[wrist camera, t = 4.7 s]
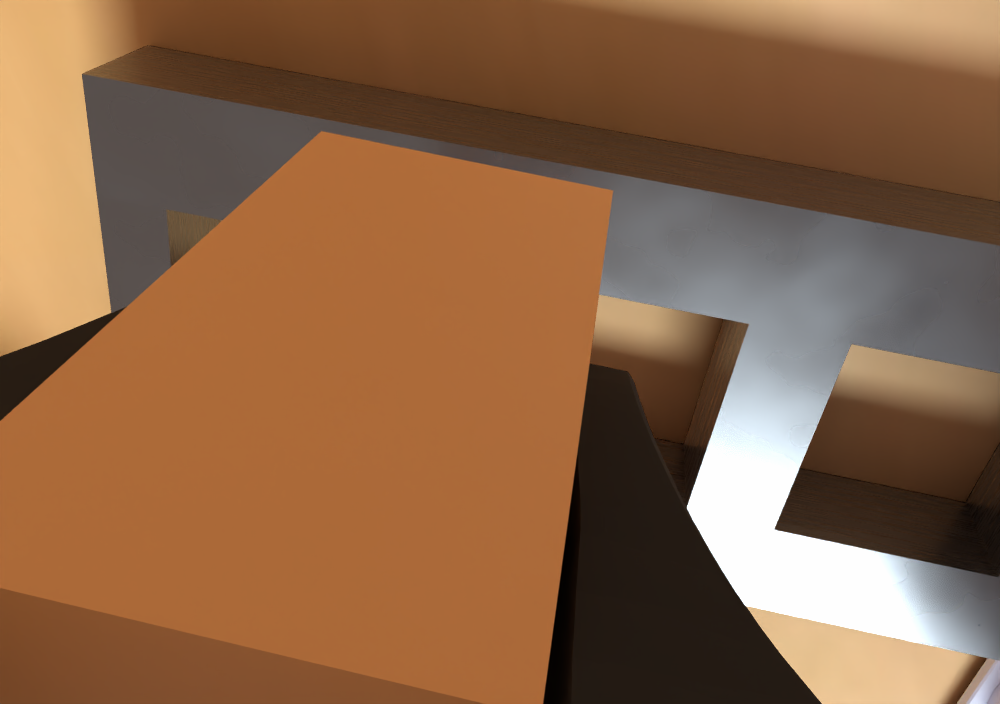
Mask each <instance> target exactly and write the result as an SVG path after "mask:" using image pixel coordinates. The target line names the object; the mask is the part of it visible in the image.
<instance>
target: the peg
mask: <svg viewBox="0 0 1000 704" xmlns="http://www.w3.org/2000/svg"><path fill="white" fill-rule="evenodd" d="M612 195H613V190H608V189H603V188H599V187H594V186H589V185H584V184H579V183H574V182H569V181H564V180H559V179H554V178H549V177H545V176H540V175H535V174H530V173H525V172H520V171H515V170H510V169H505V168H500V167H495V166H490V165H486V164H481V163H476V162H471V161H466V160H461V159H456V158H451V157H446V156H441V155H436V154H431V153H427V152H422V151H417V150H412V149H407V148H402V147H397V146H392V145H387V144H382V143H377V142H372V141H368V140H363V139H358V138H353V137H348V136H343V135H338V134H333V133H328V132H323V131H321V132H320V133H319V134H318V135H316V136H315V137H314V138H313V139H312V140H311V141H310V142H309V143H308V144H306V145H305V146H304V147H303V148H302V149H301V150H300V151H299V152H298V153H297V154H295V155H294V156H293V157H292V158H291V159H290V160H289V161H288V162H287V163H285V164H284V165H283V166H282V167H281V168H280V169H279V170H278V171H277V172H275V173H274V174H273V175H272V176H271V177H270V178H269V179H268V180H267V181H266V182H264V183H263V184H262V185H261V186H260V187H259V188H258V189H257V190H256V191H254V192H253V193H252V194H251V195H250V196H249V197H248V198H247V199H246V200H244V201H243V202H242V203H241V204H240V205H239V206H238V207H237V208H236V209H235V210H233V211H232V212H231V213H230V214H229V215H228V216H227V217H226V218H225V219H223V220H222V221H221V222H220V223H219V224H218V225H217V226H216V227H215V228H214V229H212V230H211V231H210V232H209V233H208V234H207V235H206V236H205V237H204V238H202V239H201V240H200V241H199V242H198V243H197V244H196V245H195V246H194V247H192V248H191V249H190V250H189V251H188V252H187V253H186V254H185V255H184V256H183V257H181V258H180V259H179V260H178V261H177V262H176V263H175V264H174V265H173V266H171V267H170V268H169V269H168V270H167V271H166V272H165V273H164V274H163V275H161V276H160V277H159V278H158V279H157V280H156V281H155V282H154V283H153V284H152V285H150V286H149V287H148V288H147V289H146V290H145V291H144V292H143V293H142V294H140V295H139V296H138V297H137V298H136V299H135V300H134V301H133V302H132V303H130V304H129V305H128V306H127V307H126V308H125V309H124V310H123V311H122V312H121V313H119V314H118V315H117V316H116V317H115V318H114V319H113V320H112V321H111V322H109V323H108V324H107V325H106V326H105V327H104V328H103V329H102V330H101V331H99V332H98V333H97V334H96V335H95V336H94V337H93V338H92V339H91V340H90V341H88V342H87V343H86V344H85V345H84V346H83V347H82V348H81V349H80V350H78V351H77V352H76V353H75V354H74V355H73V356H72V357H71V358H70V359H68V360H67V361H66V362H65V363H64V364H63V365H62V366H61V367H60V368H59V369H57V370H56V371H55V372H54V373H53V374H52V375H51V376H50V377H49V378H47V379H46V380H45V381H44V382H43V383H42V384H41V385H40V386H39V387H38V388H36V389H35V390H34V391H33V392H32V393H31V394H30V395H29V396H28V397H26V398H25V399H24V400H23V401H22V402H21V403H20V404H19V405H18V406H16V407H15V408H14V409H13V410H12V411H11V412H10V413H9V414H8V415H7V416H5V417H4V418H3V419H2V420H1V421H0V704H543V700H544V693H545V685H546V678H547V671H548V663H549V656H550V649H551V641H552V634H553V627H554V619H555V612H556V605H557V597H558V590H559V583H560V576H561V568H562V561H563V554H564V546H565V539H566V532H567V524H568V517H569V510H570V502H571V495H572V488H573V480H574V473H575V466H576V459H577V451H578V444H579V437H580V429H581V422H582V415H583V407H584V400H585V393H586V385H587V378H588V371H589V363H590V356H591V349H592V342H593V334H594V327H595V320H596V312H597V305H598V298H599V290H600V283H601V276H602V268H603V261H604V254H605V246H606V239H607V232H608V225H609V217H610V210H611V203H612Z"/></svg>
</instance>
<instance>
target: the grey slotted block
mask: <svg viewBox="0 0 1000 704" xmlns="http://www.w3.org/2000/svg"><path fill="white" fill-rule="evenodd" d="M82 79H83V87H84V95H85V103H86V111H87V119H88V127H89V135H90V143H91V151H92V159H93V167H94V175H95V183H96V191H97V199H98V207H99V215H100V223H101V231H102V239H103V247H104V255H105V264H106V272H107V280H108V288H109V296H110V304H111V312H112V313H113V312H115V311H117V310H120V309H122V308H125V307H127V306H128V305H129V304H130V303H132V302H133V301H134V300H135V299H136V298H137V297H138V296H139V295H140V294H142V293H143V292H144V291H145V290H146V289H147V288H148V287H149V286H150V285H152V284H153V283H154V282H155V281H156V280H157V279H158V278H159V277H160V276H161V275H163V274H164V273H165V272H166V271H167V270H168V269H169V268H170V267H171V266H173V265H174V264H175V263H176V262H177V261H178V260H179V259H180V258H181V257H183V256H184V255H185V254H186V253H187V252H188V251H189V250H190V249H191V248H192V247H194V246H195V245H196V244H197V243H198V242H199V241H200V240H201V239H202V238H204V237H205V236H206V235H207V234H208V233H209V232H210V231H211V230H212V229H214V228H215V227H216V226H217V225H218V224H219V223H220V222H221V220H223V219H225V218H226V217H227V216H228V215H229V214H230V213H231V212H232V211H233V210H235V209H236V208H237V207H238V206H239V205H240V204H241V203H242V202H243V201H244V200H246V199H247V198H248V197H249V196H250V195H251V194H252V193H253V192H254V191H256V190H257V189H258V188H259V187H260V186H261V185H262V184H263V183H264V182H266V181H267V180H268V179H269V178H270V177H271V176H272V175H273V174H274V173H275V172H277V171H278V170H279V169H280V168H281V167H282V166H283V165H284V164H285V163H287V162H288V161H289V160H290V159H291V158H292V157H293V156H294V155H295V154H297V153H298V152H299V151H300V150H301V149H302V148H303V147H304V146H305V145H306V144H308V143H309V142H310V141H311V140H312V139H313V138H314V137H315V136H316V135H318V134H319V133H320V132H321V131H323V132H328V133H333V134H338V135H343V136H348V137H353V138H358V139H363V140H368V141H372V142H377V143H382V144H387V145H392V146H397V147H402V148H407V149H412V150H417V151H422V152H427V153H431V154H436V155H441V156H446V157H451V158H456V159H461V160H466V161H471V162H476V163H481V164H486V165H490V166H495V167H500V168H505V169H510V170H515V171H520V172H525V173H530V174H535V175H540V176H545V177H549V178H554V179H559V180H564V181H569V182H574V183H579V184H584V185H589V186H594V187H599V188H603V189H608V190H613V195H612V203H611V210H610V217H609V225H608V232H607V239H606V246H605V254H604V261H603V268H602V276H601V283H600V290H599V295H605V296H610V297H615V298H620V299H625V300H630V301H635V302H640V303H645V304H650V305H655V306H661V307H666V308H671V309H676V310H681V311H686V312H691V313H696V314H701V315H706V316H711V317H716V318H722V319H724V320H723V323H722V326H721V329H720V332H719V335H718V339H717V342H716V345H715V348H714V351H713V354H712V357H711V360H710V364H709V367H708V370H707V373H706V376H705V379H704V382H703V386H702V389H701V392H700V395H699V398H698V401H697V404H696V408H695V411H694V414H693V417H692V420H691V423H690V426H689V430H688V433H687V436H686V439H685V442H684V445H683V444H679V443H674V442H669V441H664V440H659V439H655V441H656V444H657V446H658V448H659V451H660V453H661V455H662V458H663V460H664V462H665V464H666V466H667V468H668V470H669V472H670V475H671V477H672V479H673V481H674V483H675V485H676V487H677V489H678V491H679V493H680V495H681V498H682V500H683V501H684V503H685V505H686V507H687V509H688V511H689V513H690V515H691V517H692V519H693V521H694V522H695V524H696V526H697V528H698V529H699V531H700V533H701V535H702V536H703V538H704V540H705V542H706V544H707V545H708V547H709V549H710V551H711V552H712V554H713V556H714V557H715V559H716V561H717V562H718V564H719V566H720V567H721V569H722V571H723V572H724V574H725V575H726V577H727V578H728V580H729V582H730V583H731V585H732V586H733V588H734V589H735V591H736V592H737V594H738V595H739V597H740V598H741V600H742V601H743V603H744V604H745V605H746V606H750V607H755V608H759V609H764V610H769V611H773V612H778V613H782V614H787V615H792V616H796V617H801V618H805V619H810V620H815V621H819V622H824V623H828V624H833V625H838V626H842V627H847V628H851V629H856V630H861V631H865V632H870V633H874V634H879V635H884V636H888V637H893V638H897V639H902V640H907V641H911V642H916V643H920V644H925V645H929V646H934V647H939V648H943V649H948V650H952V651H957V652H962V653H966V654H971V655H975V656H980V657H985V658H989V659H994V660H998V661H1000V443H999V445H998V447H997V448H996V450H995V452H994V454H993V455H992V457H991V459H990V461H989V462H988V464H987V466H986V468H985V469H984V471H983V473H982V475H981V476H980V478H979V480H978V482H977V483H976V485H975V487H974V489H973V491H972V492H971V494H970V496H969V498H968V499H967V501H966V503H964V502H959V501H954V500H950V499H945V498H940V497H935V496H930V495H925V494H921V493H916V492H911V491H906V490H901V489H896V488H892V487H887V486H882V485H877V484H872V483H867V482H863V481H858V480H853V479H848V478H843V477H838V476H833V475H829V474H824V473H819V472H814V471H809V470H804V469H800V466H801V463H802V461H803V458H804V456H805V454H806V451H807V449H808V447H809V444H810V442H811V439H812V437H813V435H814V432H815V430H816V427H817V425H818V423H819V420H820V418H821V415H822V413H823V411H824V408H825V406H826V404H827V401H828V399H829V396H830V394H831V392H832V389H833V387H834V384H835V382H836V380H837V377H838V375H839V372H840V370H841V368H842V365H843V363H844V361H845V358H846V356H847V353H848V351H849V349H850V346H851V344H854V345H859V346H864V347H869V348H874V349H879V350H884V351H889V352H894V353H900V354H905V355H910V356H915V357H920V358H925V359H930V360H935V361H940V362H945V363H950V364H955V365H961V366H966V367H971V368H976V369H981V370H986V371H991V372H996V373H1000V202H996V201H990V200H985V199H979V198H974V197H968V196H963V195H958V194H952V193H947V192H941V191H936V190H930V189H925V188H920V187H914V186H909V185H903V184H898V183H892V182H887V181H882V180H876V179H871V178H865V177H860V176H854V175H849V174H844V173H838V172H833V171H827V170H822V169H816V168H811V167H806V166H800V165H795V164H789V163H784V162H778V161H773V160H768V159H762V158H757V157H751V156H746V155H740V154H735V153H730V152H724V151H719V150H713V149H708V148H702V147H697V146H692V145H686V144H681V143H675V142H670V141H664V140H659V139H654V138H648V137H643V136H637V135H632V134H626V133H621V132H615V131H610V130H605V129H599V128H594V127H588V126H583V125H577V124H572V123H567V122H561V121H556V120H550V119H545V118H539V117H534V116H529V115H523V114H518V113H512V112H507V111H501V110H496V109H491V108H485V107H480V106H474V105H469V104H463V103H458V102H453V101H447V100H442V99H436V98H431V97H425V96H420V95H415V94H409V93H404V92H398V91H393V90H387V89H382V88H377V87H371V86H366V85H360V84H355V83H349V82H344V81H339V80H333V79H328V78H322V77H317V76H311V75H306V74H300V73H295V72H290V71H284V70H279V69H273V68H268V67H262V66H257V65H252V64H246V63H241V62H235V61H230V60H224V59H219V58H214V57H208V56H203V55H197V54H192V53H186V52H181V51H176V50H170V49H165V48H159V47H154V46H148V45H147V46H145V47H143V48H140V49H138V50H136V51H134V52H131V53H129V54H127V55H124V56H122V57H120V58H117V59H115V60H113V61H110V62H108V63H106V64H103V65H101V66H99V67H97V68H94V69H92V70H90V71H87V72H85V73H83V74H82Z"/></svg>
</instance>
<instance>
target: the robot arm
mask: <svg viewBox="0 0 1000 704" xmlns="http://www.w3.org/2000/svg"><path fill="white" fill-rule="evenodd" d="M125 308H126V307H125ZM125 308H122V309H120V310H117V311H115V312H113V313H110V314H108V315H105V316H103V317H100V318H98V319H96V320H93V321H91V322H88V323H86V324H83V325H81V326H78V327H76V328H74V329H71V330H69V331H66V332H64V333H61V334H59V335H56V336H54V337H52V338H49V339H47V340H44V341H41V342H39V343H36V344H33V345H31V346H28V347H25V348H22V349H20V350H17V351H14V352H12V353H9V354H6V355H3V356H1V357H0V421H1V420H2V419H3V418H4V417H5V416H7V415H8V414H9V413H10V412H11V411H12V410H13V409H14V408H15V407H16V406H18V405H19V404H20V403H21V402H22V401H23V400H24V399H25V398H26V397H28V396H29V395H30V394H31V393H32V392H33V391H34V390H35V389H36V388H38V387H39V386H40V385H41V384H42V383H43V382H44V381H45V380H46V379H47V378H49V377H50V376H51V375H52V374H53V373H54V372H55V371H56V370H57V369H59V368H60V367H61V366H62V365H63V364H64V363H65V362H66V361H67V360H68V359H70V358H71V357H72V356H73V355H74V354H75V353H76V352H77V351H78V350H80V349H81V348H82V347H83V346H84V345H85V344H86V343H87V342H88V341H90V340H91V339H92V338H93V337H94V336H95V335H96V334H97V333H98V332H99V331H101V330H102V329H103V328H104V327H105V326H106V325H107V324H108V323H109V322H111V321H112V320H113V319H114V318H115V317H116V316H117V315H118V314H119V313H121V312H122V311H123V310H124V309H125ZM543 704H822V703H821V702H820V701H819V700H818V699H817V697H816V696H815V695H814V694H813V693H812V691H811V690H810V689H809V688H808V687H807V685H806V684H805V683H804V682H803V681H802V679H801V678H800V677H799V676H798V675H797V673H796V672H795V671H794V670H793V669H792V667H791V666H790V665H789V664H788V663H787V661H786V660H785V659H784V658H783V657H782V655H781V654H780V653H779V651H778V650H777V649H776V647H775V646H774V645H773V643H772V642H771V641H770V639H769V638H768V637H767V635H766V634H765V633H764V631H763V630H762V629H761V627H760V626H759V625H758V623H757V622H756V620H755V619H754V617H753V616H752V614H751V613H750V611H749V610H748V609H747V607H746V606H745V604H744V603H743V601H742V600H741V598H740V597H739V595H738V594H737V592H736V591H735V589H734V588H733V586H732V585H731V583H730V582H729V580H728V578H727V577H726V575H725V574H724V572H723V571H722V569H721V567H720V566H719V564H718V562H717V561H716V559H715V557H714V556H713V554H712V552H711V551H710V549H709V547H708V545H707V544H706V542H705V540H704V538H703V536H702V535H701V533H700V531H699V529H698V528H697V526H696V524H695V522H694V521H693V519H692V517H691V515H690V513H689V511H688V509H687V507H686V505H685V503H684V501H683V500H682V498H681V495H680V493H679V491H678V489H677V487H676V485H675V483H674V481H673V479H672V477H671V475H670V472H669V470H668V468H667V466H666V464H665V462H664V460H663V458H662V455H661V453H660V451H659V448H658V446H657V444H656V441H655V439H654V436H653V434H652V432H651V429H650V427H649V424H648V422H647V419H646V416H645V413H644V411H643V408H642V405H641V402H640V399H639V396H638V393H637V390H636V386H635V383H634V381H633V379H632V378H631V376H630V375H629V373H628V372H627V371H622V370H618V369H613V368H608V367H603V366H599V365H594V364H589V371H588V378H587V385H586V393H585V400H584V407H583V415H582V422H581V429H580V437H579V444H578V451H577V459H576V466H575V473H574V480H573V488H572V495H571V502H570V510H569V517H568V524H567V532H566V539H565V546H564V554H563V561H562V568H561V576H560V583H559V590H558V597H557V605H556V612H555V619H554V627H553V634H552V641H551V649H550V656H549V663H548V671H547V678H546V685H545V693H544V700H543ZM957 704H1000V661H998V660H994V659H989V658H987V659H986V661H985V662H984V664H983V665H982V667H981V668H980V670H979V671H978V673H977V674H976V676H975V677H974V679H973V680H972V682H971V683H970V685H969V686H968V688H967V689H966V691H965V692H964V694H963V695H962V696H961V698H960V699H959V701H958V702H957Z"/></svg>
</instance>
